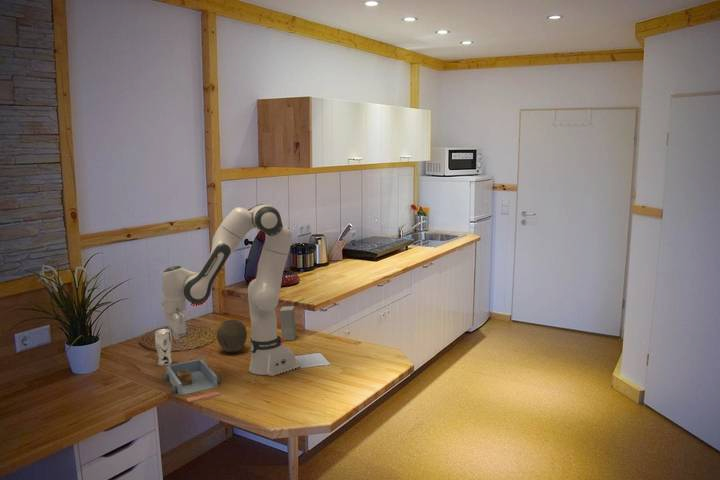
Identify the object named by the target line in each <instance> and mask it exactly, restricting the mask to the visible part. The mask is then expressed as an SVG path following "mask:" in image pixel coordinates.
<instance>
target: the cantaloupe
mask: <svg viewBox="0 0 720 480" xmlns="http://www.w3.org/2000/svg"><path fill="white" fill-rule="evenodd" d="M216 338H217V342H218V345H219V347H221V348H222V350H223V351H225V352H228V353H237V352H239V351H240V350H242V349H243V347H244V346H245V343H246V341H247V338H248V331H247V327H246V326H245V323H243V322H242V321H241V320H239V319H228V320H224V321H223V322H221V323H220V324H219V326H218V328H217V332H216Z"/></svg>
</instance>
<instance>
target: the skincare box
mask: <svg viewBox="0 0 720 480" xmlns="http://www.w3.org/2000/svg"><path fill="white" fill-rule="evenodd" d="M295 316H296V314H295V306H294V305H293V306H291V305H290V306H288V305H287V306H282V307H280V310H279V317H280V319H279V320H280V330H281V338H284V339H285V340H286V341H295V339H296V336H297V328H296V327H297V326H296V317H295Z"/></svg>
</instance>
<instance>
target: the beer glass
mask: <svg viewBox="0 0 720 480" xmlns="http://www.w3.org/2000/svg"><path fill="white" fill-rule="evenodd" d="M171 331H172V329H170V328H160V329H157V330H155V332H154V342H155V348H156V351H157V357H158V358H157V359H158V360H157V365H158V366H161V367H164V366H165V367H166V366H167V365H172V364H173V360H172V355H171V353H172V346H173V345H172V344H173V343H172V341H173V339H172V337H173V336H172V332H171Z"/></svg>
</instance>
